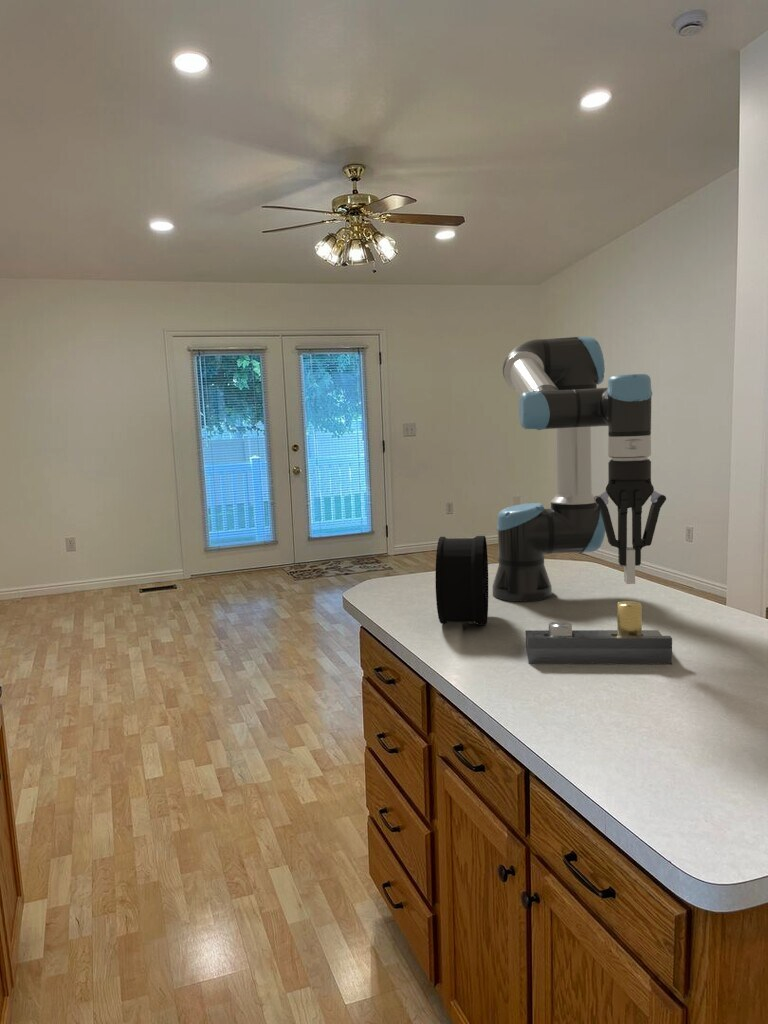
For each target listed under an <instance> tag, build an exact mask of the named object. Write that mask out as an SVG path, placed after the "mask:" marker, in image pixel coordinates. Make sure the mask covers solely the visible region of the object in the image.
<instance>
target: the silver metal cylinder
mask: <svg viewBox="0 0 768 1024" xmlns="http://www.w3.org/2000/svg"><path fill="white" fill-rule="evenodd" d="M548 630H549V636H572V630H573V624H572V623H571V622H568V621H564V620H563V621H562V620H561V621H560V620H559V621H557V620H556V621H555V620H554V621H551V622H549V623H548Z"/></svg>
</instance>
